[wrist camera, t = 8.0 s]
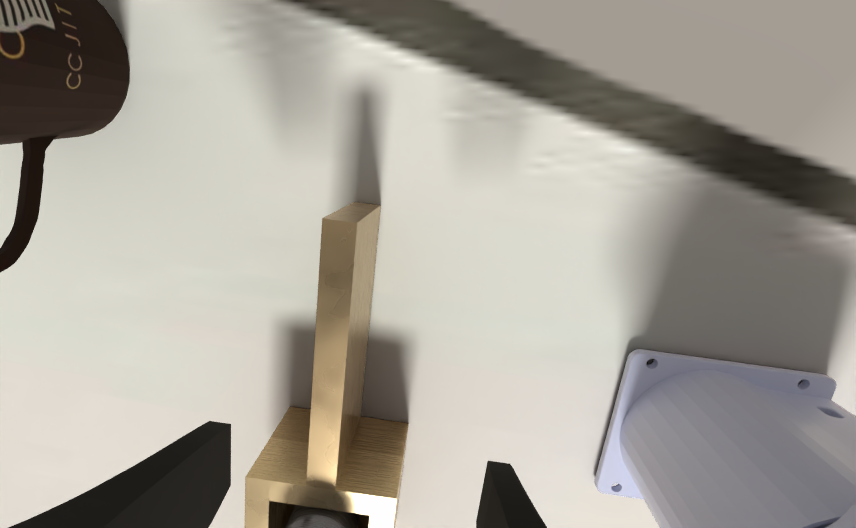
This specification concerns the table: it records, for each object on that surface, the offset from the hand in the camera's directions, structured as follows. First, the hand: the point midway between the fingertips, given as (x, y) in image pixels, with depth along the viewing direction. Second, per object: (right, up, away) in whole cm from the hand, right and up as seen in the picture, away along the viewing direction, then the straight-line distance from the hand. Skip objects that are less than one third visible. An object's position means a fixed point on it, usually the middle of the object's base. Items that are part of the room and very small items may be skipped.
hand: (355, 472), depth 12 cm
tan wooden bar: (-2, -5, +11) cm, 13 cm away
